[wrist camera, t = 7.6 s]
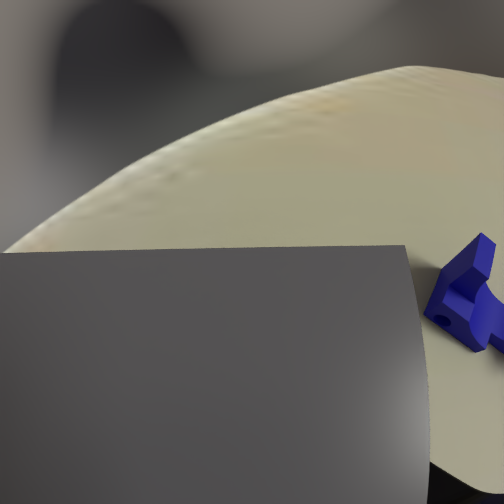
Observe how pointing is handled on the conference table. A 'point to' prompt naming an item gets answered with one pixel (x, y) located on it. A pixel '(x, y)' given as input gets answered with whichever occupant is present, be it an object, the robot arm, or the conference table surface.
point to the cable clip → (469, 298)
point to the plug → (212, 377)
